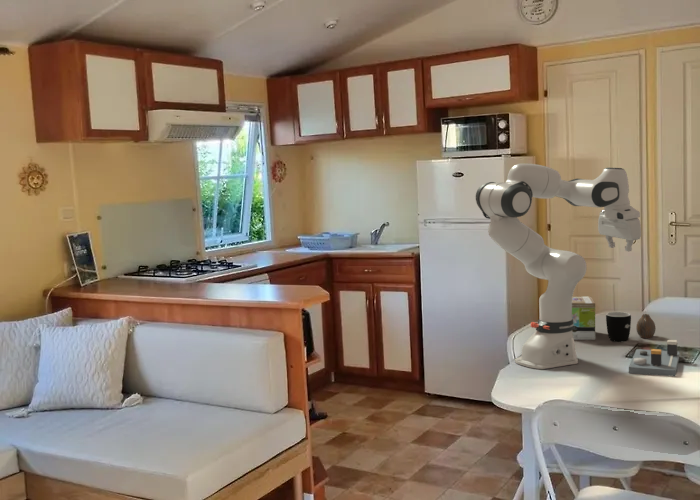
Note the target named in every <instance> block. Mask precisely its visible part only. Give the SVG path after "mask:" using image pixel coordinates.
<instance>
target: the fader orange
mask: <svg viewBox="0 0 700 500" xmlns="http://www.w3.org/2000/svg"><path fill="white" fill-rule="evenodd" d="M650 350H651V364H654V365H661V363H662V351H663V349H658V348H651V349H650Z"/></svg>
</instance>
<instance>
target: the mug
mask: <svg viewBox="0 0 700 500" xmlns="http://www.w3.org/2000/svg"><path fill="white" fill-rule="evenodd" d="M605 321H606V322H605V323H606V330H607V336H608V339H609V341H610V342H614V343H624V342H627V341H628V340H629V338H630V335H631V328H632V327H631V326H632V325H631V324H632V315H631V313H630V312H625V311H611V312H607V313H606V314H605Z"/></svg>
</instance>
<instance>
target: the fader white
mask: <svg viewBox="0 0 700 500" xmlns="http://www.w3.org/2000/svg"><path fill="white" fill-rule="evenodd" d="M666 343H667V344H666V346H667V348H666V351H667V354H669V355H677V352H678V339H667V341H666Z"/></svg>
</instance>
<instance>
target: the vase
mask: <svg viewBox="0 0 700 500" xmlns="http://www.w3.org/2000/svg"><path fill="white" fill-rule="evenodd" d="M636 334H637V335H638V336H639V337H640V338H643V339H650V338H653V337H654V335H655V334H656V323H655V322H654V320H653V319H652V318H651V316H650V314H647V313H643V314H642V315H641V317H640V318H639V319H638V320H637V322H636Z"/></svg>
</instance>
